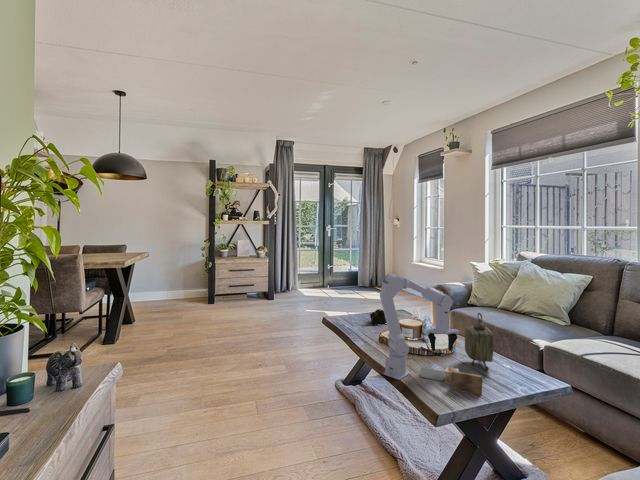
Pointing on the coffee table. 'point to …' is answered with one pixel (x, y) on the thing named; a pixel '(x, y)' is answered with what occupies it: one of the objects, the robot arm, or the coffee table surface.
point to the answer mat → (432, 374)
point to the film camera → (378, 317)
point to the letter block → (449, 374)
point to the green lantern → (479, 342)
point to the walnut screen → (466, 382)
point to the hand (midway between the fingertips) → (441, 350)
